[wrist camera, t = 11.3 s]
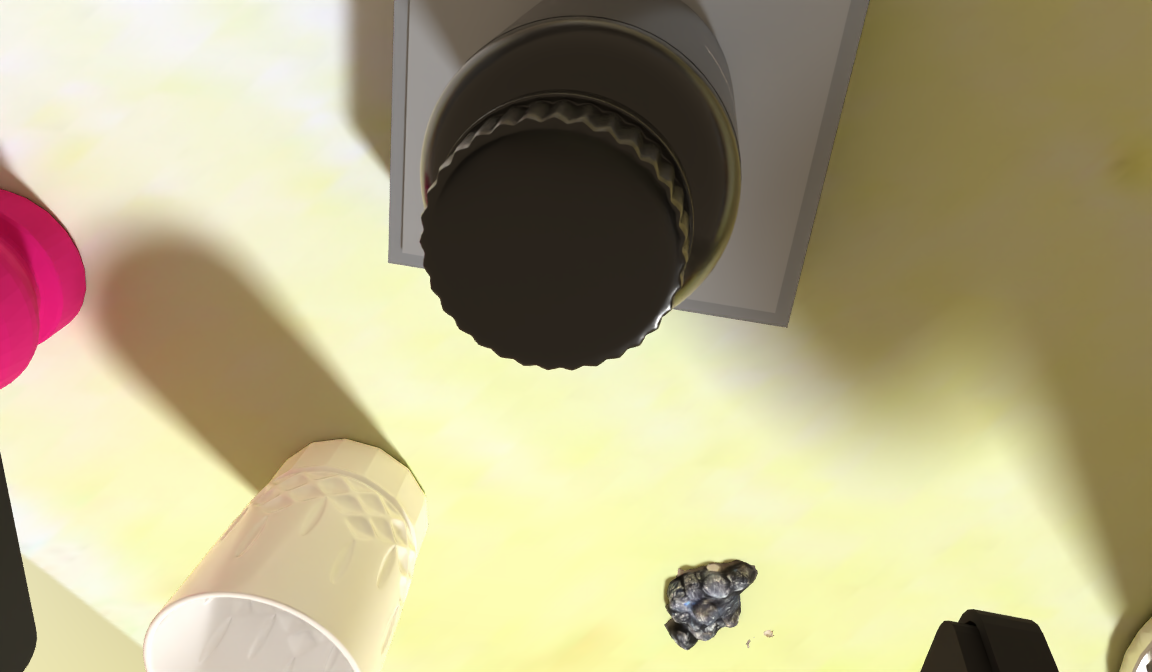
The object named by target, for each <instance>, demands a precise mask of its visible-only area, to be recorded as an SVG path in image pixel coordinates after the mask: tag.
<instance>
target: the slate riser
mask: <svg viewBox="0 0 1152 672" xmlns="http://www.w3.org/2000/svg"><path fill="white" fill-rule="evenodd" d="M541 1H543V0H394V33H393V77H392V121H391V164H390V208H389V252H388V263H393V264H399V265H405V266H411V267H418V268H424V266H423V259H424V254H425V253H424V251H423V249H422V247H421V244H420V242H419V241H420V237H421V234H422V232H423V225H422V222H421V214H422V212H423V210H424V204H423V199H422V194H421V183H420V161H421V151H422V145H423V140H424V135H425V131H426V128H427V125H428V122H429V118H430V116H431V114H432V111H433V109H434V107H435V104H436V102H437V101H438V99H439V97H440V95H441V94H442V92H443V90H444V89H445V87H446V86H447V85H448V83H449V82H450V80H451V79H452V78H453V76H454V75H455V74H456V73H457V72H458V70H459V69H460V68H461V67H462V66H463V65H464V64H465V63H466V61H467V60H468V59H469V58H471V57H472V56H473V55H474V54H475V53H476V52H477V51H478V50H479V49H481V48H482V47H483V46H484V45H486V44H487V43H488V42H489V41H491V40H492V39H493V38H495V37H496V36H497V35H498V34H500V33H501V32H502V31H503V30H505V29H506V28H507V27H509V26H510V25H511V24H512V23H514V22H515V21H516V20H518V19H519V18H520V17H521V16H523V15H524V14H525V13H526V12H528V11H529V10H530V9H532V8H533V7H534V6H536V5H537V4H538V3H540V2H541ZM681 1H683V2H684V3H685V4H687V5H688V6H689V7H690V8H691V9H692V10H693V11H695V12H696V13H697V14H698V15H699V17H700V18H701V19H702V20H703V21H704V22H705V23H706V25H707V26H708V27H709V29H710V30H711V31H712V33H713V34H714V36H715V38H716V39H717V41H718V43H719V45H720V47H721V49H722V51H723V53H724V56H725V58H726V61H727V64H728V67H729V71H730V75H731V80H732V85H733V92H734V99H735V109H736V118H737V128H738V138H739V147H740V157H741V177H742V180H741V194H740V202H739V208H738V214H737V218H736V222H735V225H734V229H733V232H732V234H731V237H730V239H729V242H728V245H727V246H726V248H725V250H724V252H723V254H722V256H721V258H720V260H719V261H718V263H717V264H716V266H715V267H714V269H713V270H712V272H711V273H710V274H709V275H708V277H707V278H706V279H705V280H704V282H703V283H702V284H701V285H700V286H699V287H698V288H697V289H696V290H695V291H694V292H693V293H692V294H691V295H690V296H688V297H687V298H686V299H685V300H684V301H682V302H681V303H680V304H678V305H677V306H676V307H674V308H673V309H676V310H682V311H688V312H694V313H701V314H707V315H713V316H719V317H725V318H731V319H738V320H744V321H750V322H756V323H762V324H768V325H774V326H781V327H787V326H788V322H789V318H790V314H791V310H792V306H793V303H794V299H795V295H796V291H797V287H798V283H799V279H800V275H801V271H802V267H803V263H804V259H805V255H806V251H807V247H808V243H809V239H810V235H811V231H812V227H813V223H814V219H815V215H816V211H817V207H818V203H819V199H820V195H821V191H822V187H823V183H824V179H825V175H826V171H827V168H828V164H829V160H830V156H831V152H832V148H833V144H834V140H835V136H836V132H837V128H838V124H839V120H840V116H841V112H842V108H843V104H844V100H845V96H846V92H847V88H848V84H849V80H850V76H851V72H852V68H853V64H854V60H855V56H856V52H857V48H858V44H859V40H860V36H861V32H862V29H863V25H864V21H865V17H866V13H867V9H868V5H869V1H870V0H681ZM424 269H425V268H424Z"/></svg>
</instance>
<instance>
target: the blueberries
mask: <svg viewBox="0 0 1152 672" xmlns="http://www.w3.org/2000/svg"><path fill="white" fill-rule="evenodd" d="M757 574H758V572H757V570H756V569H755V566H754V565H749V564H748V563H746V562H743V561H739V560H735V561H732V562H730V563H710V564H709V565H706V566H702V567H698V568H696V569H689V570H686V571H684V570H681V569H680V568H679V570H678V575H677V576H676V578H675V579H673V580H672V581H671V582H670V584H669V586H668V590H667V596H668V598H669V602H670V604H667V605H666V609H667V611H668V613H669V614H670V615H671V617H672V619H670V620H669V621H668V622H667V623H666V624H665V627H666V629H667V630H668V632H669V634H670V636H671V637H672V638H673V639H674V641H675V642H676V643H677V644H678V645H679V646H680V647H682V648H683V649H685V650H689V649H690V648H691V647H693V646H694V645H695V644H696V642H697V641H698V640H703V641H707V640H709V639H711V638H712V637H714V636H715V635H716V633H717V631H718V630H719V629H721V628H722V627H725V626H726V627H729V628H731V627H735V626H736V625H737V624H738V619H739V615H740V613H741V608H740V606H741V602H740V593H742V592H743V591H744V590H745V589H746V588H747V587H748V586H749V585H751V584H752V583H753V582H754V580H755V579H756V576H757ZM772 634H773V631H771V630H767V631H765V632H764V635H766V636H767V637H772V636H774V635H772ZM749 642H750V640H748V642H747V643H746V644H747V646H748V647H747V648H749V645H748V644H749Z"/></svg>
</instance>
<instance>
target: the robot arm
mask: <svg viewBox="0 0 1152 672" xmlns="http://www.w3.org/2000/svg"><path fill="white" fill-rule="evenodd" d="M36 641H37V632H36V627H35V622H34V617H33V612H32V607H31V602H30V597H29V592H28V587H27V583H26V577H25V572H24V567H23V562H22V557H21V553H20V548H19V543H18V538H17V533H16V528H15V523H14V518H13V513H12V508H11V503H10V498H9V493H8V488H7V483H6V478H5V473H4V469H3V464H2V459H1V454H0V672H23V671H24V669H25V668H26V666H27V665H28V664H29V662H30V660H31V658H32V656H33V653H34V650H35V647H36ZM920 672H1059V671H1058V668H1057V666H1056V663H1055V661H1054V659H1053V656H1052V654H1051V651H1050V649H1049V647H1048V644H1047V642H1046V639H1045V637H1044V635H1043V633H1042V631H1041V629H1040V628H1039V626H1038V625H1037V624H1036V623H1035V622H1033V621H1032V620H1028V619H1022V618H1017V617H1012V616H1006V615H1001V614H996V613H990V612H985V611H980V610H974V609H970V610H967V611H966V612H965V613H963V614H962V616H961V618H960V620H959V621H958V622H953V621H944V622H943V623H942V624H941V625H940V627H939V629H938V630H937V633H936V635H935V638H934V640H933V642H932V645H931V647H930V650H929V652H928V654H927V657H926V659H925V662H924V664H923V667H922V669H921V671H920ZM1119 672H1152V617H1151V618H1150V619H1149V620H1148V621H1147V623H1146V624H1145V625H1144V626H1143V627H1142V628H1141V629H1140V630H1139V631H1138V633H1137V634H1136V636H1135V638H1134V639H1133V641H1132V642H1131V644H1130V646H1129V647H1128V649H1127V650H1126V652H1125V655H1124V658H1123V661H1122V664H1121V668H1120V671H1119Z"/></svg>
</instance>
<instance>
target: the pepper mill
mask: <svg viewBox="0 0 1152 672" xmlns="http://www.w3.org/2000/svg"><path fill="white" fill-rule="evenodd" d="M85 292H86V281H85V269H84V266H83V263H82V261H81V258H80V255H79V252H78V250H77V248H76V247H75V245H74V243H73V242H72V240H71V238H70V237H69V235H68V233H67V232H66V231H65V229H64V228H63V227H62V226H61V225H60V224H59V223H58V222H57V221H56V220H55V219H54V218H53V217H52V216H51V215H50V214H49V213H48V212H47V211H45V210H44V209H42V208H41V207H39V206H38V205H36V204H35V203H33V202H32V201H30V200H28V199H27V198H25V197H22V196H20V195H17V194H14V193H12V192H9V191H6V190H2V189H0V389H2V388H3V387H5V386H7V385H8V384H10V383H11V382H12V381H14V380H15V379H16V378H17V377H18V376H19V375H20V374H21V373H22V372H23V371H24V370H25V369H26V367H27V366H28V364H29V362H30V361H31V359H32V357H33V355H34V353H35V350H36V347H37V345H38V344H40V343H42V342H44V341H45V340H47V339H48V338H49V337H51V336H52V335H53V334H55V333H56V332H57V331H59V330H60V329H62V328H63V327H64V326H66V325H67V324H68V323H70V322H71V321H72V320H73V318H74V317H75V316H76V315H77V314H78V312H79V311H80V309H81V306H82V304H83V300H84V296H85Z"/></svg>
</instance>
